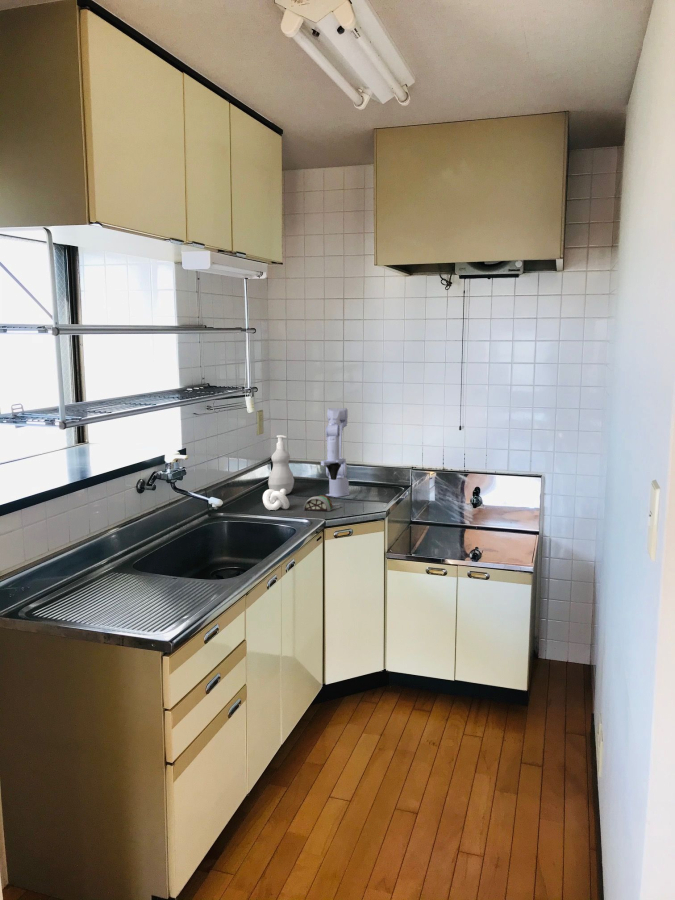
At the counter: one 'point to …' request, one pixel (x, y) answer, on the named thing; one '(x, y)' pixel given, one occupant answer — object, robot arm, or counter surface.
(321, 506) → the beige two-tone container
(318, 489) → the counter surface
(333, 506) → the mat
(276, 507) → the white knot
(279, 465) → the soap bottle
